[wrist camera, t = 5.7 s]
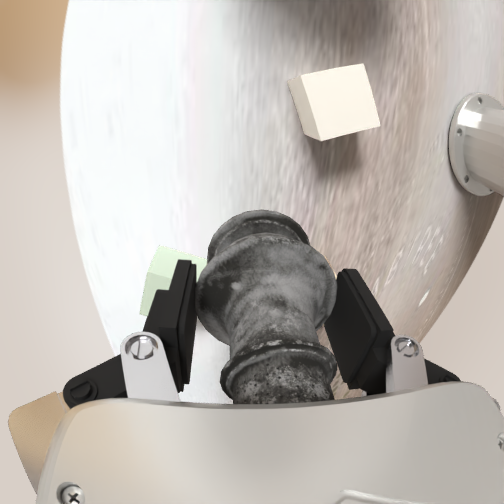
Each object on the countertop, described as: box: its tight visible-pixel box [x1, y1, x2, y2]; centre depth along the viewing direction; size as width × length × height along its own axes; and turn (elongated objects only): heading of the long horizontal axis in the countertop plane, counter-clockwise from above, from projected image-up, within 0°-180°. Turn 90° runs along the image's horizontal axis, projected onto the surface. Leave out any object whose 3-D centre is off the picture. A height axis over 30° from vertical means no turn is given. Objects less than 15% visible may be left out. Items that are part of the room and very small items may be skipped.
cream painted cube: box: [287, 64, 380, 141], centre depth 20 cm, size 5×5×5 cm
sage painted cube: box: [140, 245, 207, 316], centre depth 27 cm, size 5×5×5 cm
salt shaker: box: [195, 210, 337, 404], centre depth 9 cm, size 6×6×12 cm
